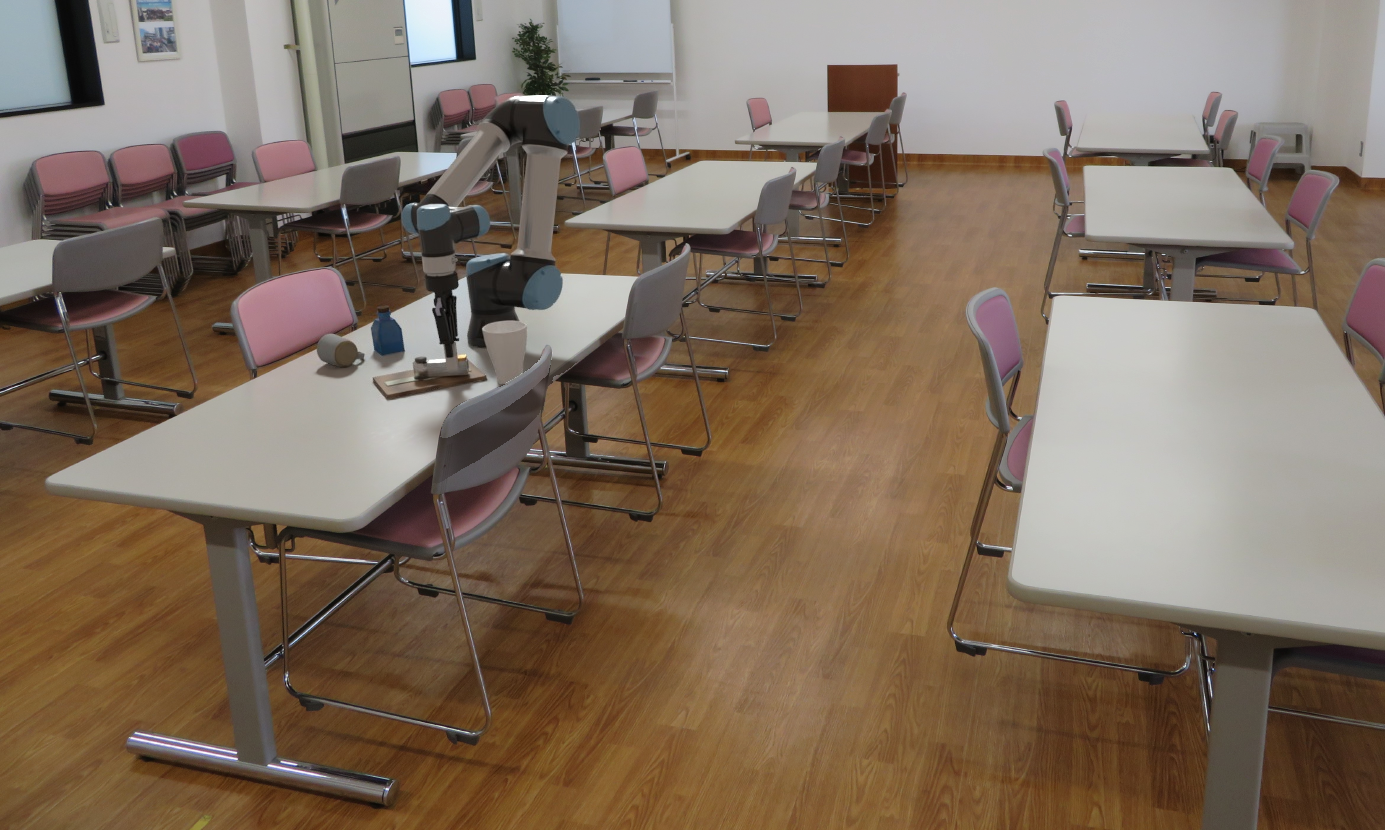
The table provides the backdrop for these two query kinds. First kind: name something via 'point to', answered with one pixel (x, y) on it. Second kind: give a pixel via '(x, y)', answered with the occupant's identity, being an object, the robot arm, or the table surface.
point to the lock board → (423, 381)
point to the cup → (506, 348)
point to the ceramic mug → (338, 350)
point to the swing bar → (440, 368)
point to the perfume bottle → (386, 333)
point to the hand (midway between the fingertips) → (452, 369)
